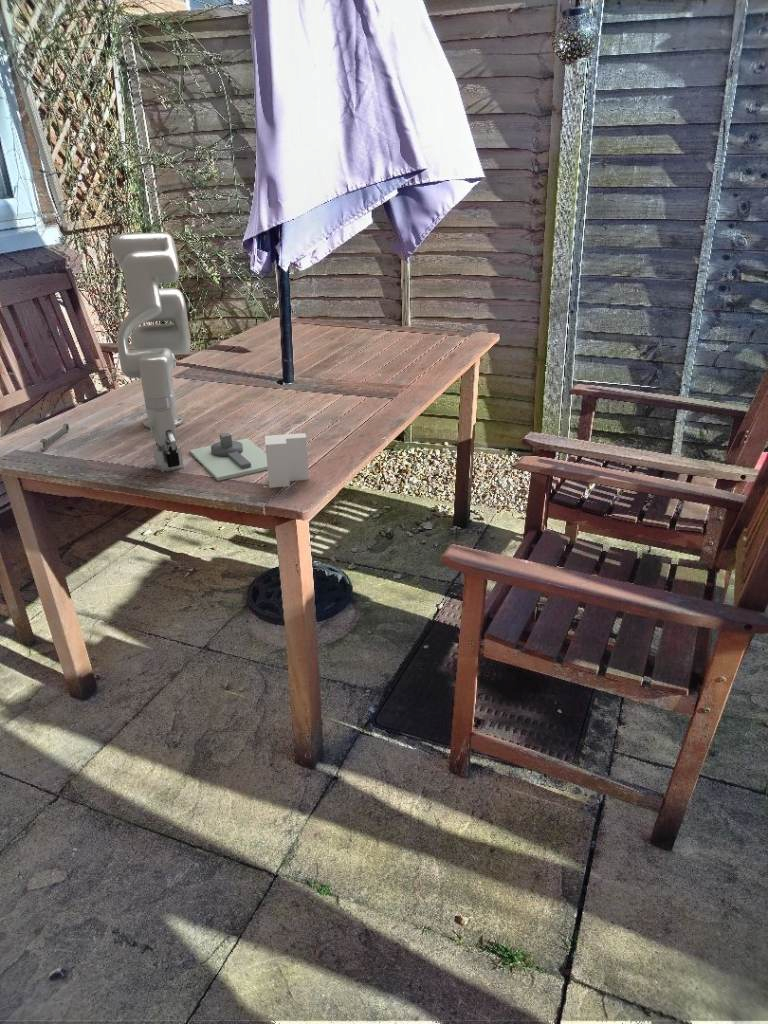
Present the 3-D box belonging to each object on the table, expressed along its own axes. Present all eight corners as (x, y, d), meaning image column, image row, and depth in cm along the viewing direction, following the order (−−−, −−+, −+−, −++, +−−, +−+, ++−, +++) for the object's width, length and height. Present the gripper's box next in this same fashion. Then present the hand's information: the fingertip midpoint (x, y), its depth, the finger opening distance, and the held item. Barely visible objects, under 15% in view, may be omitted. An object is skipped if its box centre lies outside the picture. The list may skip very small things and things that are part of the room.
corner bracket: (269, 487, 184) (265, 444, 179) (267, 471, 194) (264, 430, 189) (310, 484, 186) (307, 441, 181) (306, 468, 196) (303, 427, 191)
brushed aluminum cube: (156, 465, 199) (152, 445, 196) (177, 461, 202) (174, 441, 199) (162, 472, 194) (158, 452, 192) (183, 467, 197) (180, 447, 194)
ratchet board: (190, 453, 207) (187, 433, 204) (247, 441, 215) (245, 422, 213) (217, 481, 189) (215, 459, 186) (279, 467, 197) (278, 446, 194)
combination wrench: (64, 420, 225) (35, 441, 207) (68, 420, 225) (40, 441, 207) (67, 432, 227) (38, 453, 208) (71, 431, 227) (43, 453, 208)
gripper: (137, 395, 194) (147, 453, 202) (154, 412, 181) (164, 473, 189) (164, 391, 198) (173, 448, 205) (183, 407, 185) (191, 467, 192)
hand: (168, 460), depth 197 cm, fingers open, 9 cm apart
